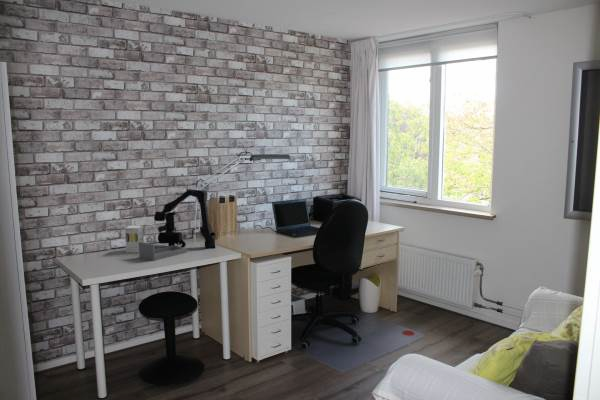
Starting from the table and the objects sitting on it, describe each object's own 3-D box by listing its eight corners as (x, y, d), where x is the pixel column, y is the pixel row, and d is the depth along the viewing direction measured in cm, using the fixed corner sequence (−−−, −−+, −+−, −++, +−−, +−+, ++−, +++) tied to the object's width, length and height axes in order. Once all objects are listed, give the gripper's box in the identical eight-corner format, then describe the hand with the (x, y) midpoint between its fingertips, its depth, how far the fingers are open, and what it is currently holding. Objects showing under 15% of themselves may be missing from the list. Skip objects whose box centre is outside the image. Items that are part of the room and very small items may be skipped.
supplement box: (125, 252, 327) (124, 227, 325) (130, 249, 337) (128, 225, 334) (140, 252, 327) (138, 227, 325) (144, 249, 336) (143, 225, 334)
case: (172, 249, 335) (172, 235, 333) (187, 252, 326) (186, 237, 325) (139, 257, 313) (138, 242, 312) (153, 260, 305) (152, 244, 304)
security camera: (184, 247, 340) (183, 233, 338) (157, 248, 340) (156, 233, 339) (186, 245, 346) (186, 231, 345) (160, 246, 347) (159, 232, 345)
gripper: (159, 219, 349) (161, 241, 351) (156, 224, 330) (157, 246, 332) (176, 218, 350) (177, 240, 352) (173, 223, 332) (174, 246, 334)
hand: (171, 243), depth 343 cm, fingers closed on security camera, 7 cm apart
